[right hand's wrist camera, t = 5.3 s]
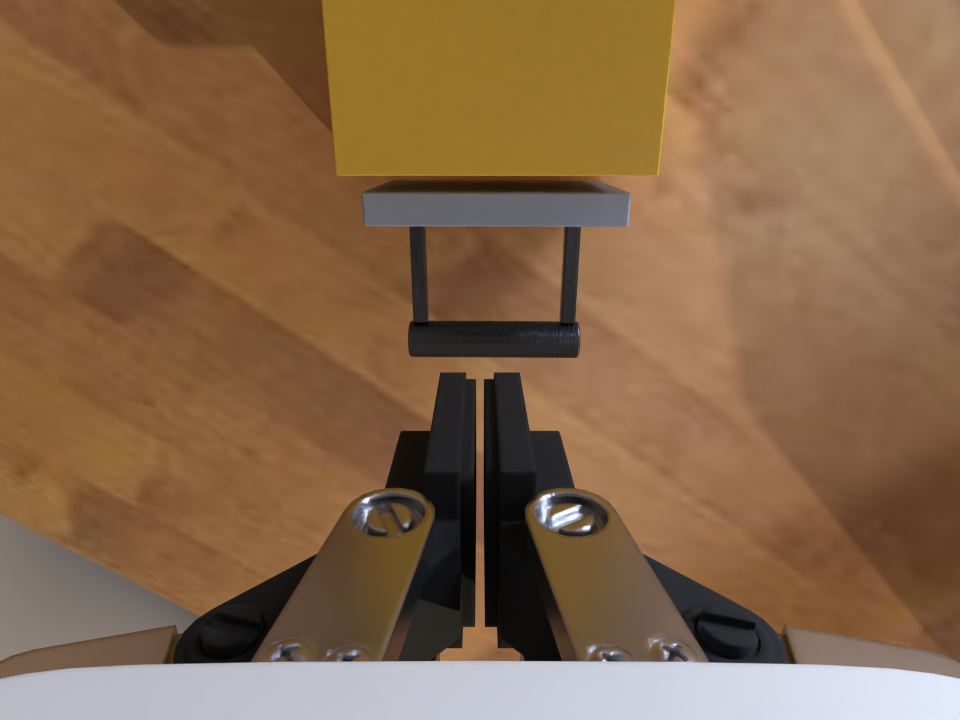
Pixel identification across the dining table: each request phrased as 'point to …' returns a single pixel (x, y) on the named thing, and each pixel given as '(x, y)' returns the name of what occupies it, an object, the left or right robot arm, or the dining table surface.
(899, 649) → the right robot arm
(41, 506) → the dining table surface
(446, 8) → the yellow box orange base
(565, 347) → the drawer
